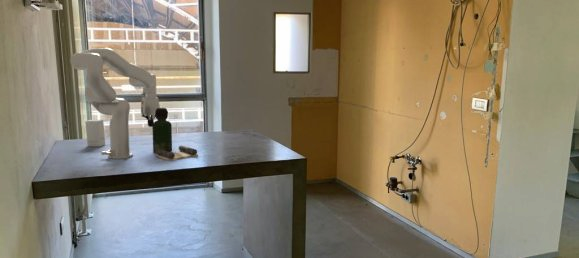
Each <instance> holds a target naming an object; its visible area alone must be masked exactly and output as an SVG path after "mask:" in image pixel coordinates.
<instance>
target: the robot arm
mask: <svg viewBox="0 0 579 258" xmlns="http://www.w3.org/2000/svg"><path fill="white" fill-rule="evenodd" d="M69 61H70V65H71V66H72V67H73V69H75V70H78V71H86V76H85V77H86V78H85V83H86V85H87V86H86V87H85V90H84V96H85V98H86V100H87V102H89V103H90V104H91V105H92V107H94V109H95V110H97V112H98V113H100V114H101V115H104V116H111V119H110V121H109V141H110V148H108V149H107V150H102V151H101V155H102V156H105V155H106V156H107V158H109V159H113V160H114V159H115V160H117V159H118V160H120V159H121V160H123V159H128V158H131V157H133V156H134V154H133V152H130V151H131V150H130V132H129V131H130V129H129V128H130V127H129V126H130V125H129V115H130V111H131V106H130V102H129V101H128V100H127V99H125V98H123V97H122V98H121V97H117V92H116V90H115V89H114V88H113V86H112V85H111V84H110V83H109V82H108V80H107V79H106V78H105V77H104V74H103V70H104V69H103V68H104V66H106V67H108V68H109V69H111V71H113V72H114V73H116V74H117V75H120V76H122V77H125V78H128V83H129V84H130V86H131V87H134V88H142V93H141V94H140V96H141V101H140V114H141V115H140V116H141V118H145V119H146V120H147V126H148V127H150V128H152V125H153V123H154V122H155V119H156V116H155V111H156V109H157V108H161V107H160V106H161V105H160V100H159V97H157V76H156V74H154V73H150V72H149V71H148V70H147V69H145V68H144V67H142V66H139V65H136V64H134V63H132V62H130V61H128V60H126V58H124V57H123V56H121V55H120V54H119V53H117V52H116V51H115V50H113V49H111V48H109V47H95V48H89V49H87V50H81V51H78V52H75V53H73V54H72V55H71V57H70V60H69Z"/></svg>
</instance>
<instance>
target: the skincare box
mask: <svg viewBox="0 0 579 258" xmlns="http://www.w3.org/2000/svg"><path fill="white" fill-rule="evenodd" d="M84 122H85V131H86V144H87V147H97V148H98V147H99V148H100V147H104V146H105V145H106V137H105V135H106V134H105V127H104V125H105V124H104V119H89V120H85V121H84Z"/></svg>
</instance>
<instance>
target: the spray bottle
mask: <svg viewBox="0 0 579 258" xmlns="http://www.w3.org/2000/svg"><path fill="white" fill-rule="evenodd" d="M155 116H156V117H155V119H156V120H154V123H153V125H152V127H151V128H152V152H153V153H155V154H157V153H156V150H157V149H162V150H165V151H168V152H173V134H172V133H173V132H172V130H173V129H172V128H173V126H172V123H171V122H170V121H169V120H168V117H169V111H168V109H167V108H166V107H160V108H157V109H156V111H155Z"/></svg>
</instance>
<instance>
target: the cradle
mask: <svg viewBox="0 0 579 258" xmlns="http://www.w3.org/2000/svg"><path fill="white" fill-rule="evenodd" d="M154 156H155V157H156V158H159V159H162V160H165V161H167V162H171V161H176V160H182V159H188V158H194V157H199V153H198V150H197V149H196V148H191V147H188V146H185V145H179V146H178V151H177V150H176V151H171V152H168V151H165V150H162V149H157V150H156V153H155V155H154Z"/></svg>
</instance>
